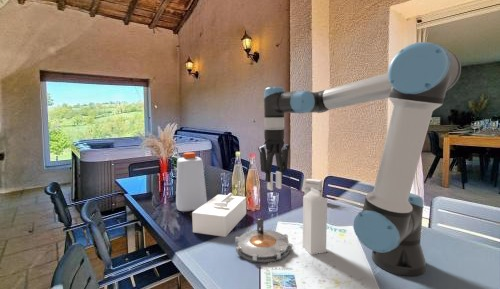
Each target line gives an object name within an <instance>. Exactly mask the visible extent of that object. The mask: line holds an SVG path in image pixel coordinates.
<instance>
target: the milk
mask: <svg viewBox="0 0 500 289" xmlns="http://www.w3.org/2000/svg"><path fill="white" fill-rule="evenodd" d="M327 222H328V199H327V198H324V196H322V197H321V196H320V191H318V190H316V189H314V188H313V187H311V191H310V192H309V193H307V194H306V195H305V194H304V195H303V197H302V247H304V248H305V249H306V250H307V251H308V252H307V251H306V250H305V249H304V248H303V249H304V250H305V251H306V252H307V253H308V254H309V255H310V256H313V255H318V253H319V254H323V253H322V252H325V253H326V252H327V227H328V226H327V224H328V223H327Z"/></svg>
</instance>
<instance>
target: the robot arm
mask: <svg viewBox="0 0 500 289" xmlns="http://www.w3.org/2000/svg"><path fill="white" fill-rule="evenodd" d="M388 66H389V67H388V71H387V72H386V73H382V74H379V75H375V76H372V77H371V76H370V77H369V78H365V79H361V80H356V81H354V82H349V83H346V84H342V85H338V86H335V87H331V88H327V89H325V90H321V91H316V92H315V91H314V92H312V91H309V90H296V91H295V90H294V91H293V90H292V91H285V88H284V87H283V86H270V87H269V86H268V87H266V88H265V89H264V93H263V95H264V96H263V103H264V108H263V109H264V110H263V111H264V123H263V124H264V130H263V131H264V133H263V134H264V143H263V145H262V146H258V148H257V149H258V150H257V151H259V161H260V171H261V173H265V182H266V190H269V191H271V192H272V191H274V187H273V186H274V180H273V179H274V178H273V177H274V174H273V173H272V168H273V161H274V156H275V162H276V168H277V170H276V171H275V188H276V189H279V190H282V180H283V179H284V176H283V174H284V173H285V171H286V170H288V163H289V162H288V160H289V150H290V147H291V145H290V144H286V143H285V142H284V139H285V129H284V128H285V114H288V113H289V114H307V113H308V114H309V113H310V114H311V113H317V114H320V113H325V112H328V111H330V110H337V109H340V108H345V107H350V106H351V107H352V106H355V105H360V104H366V103H370V102H375V101H381V100H385V99H386V100H387V99H389V100H390V102H391V103H392V105H393V107H392V108H393V109H392V111H391V112H392V113H391V116H390V121H389V124H388V129H387V133H386V137H385V142H384V145H383V150H382V153H381V158H380V162H379V166H378V169H377V174H376V178H375V183H374V187H373V190H372V191H369V192H368V193H367V194H365V198H364V199H365V200H364V202H363V207H362V210H361V211H359V212H358V213H357V215H355V217H354V220H353V230H354V233H355V235H356V236H357V238H358V240H359V242H360V243H361V244H362V245H364V246H365V247H366V248H367V249H369V250H371V260H372V262H373V263H374V264H375V265H376V266H377V267H379V268H380V269H382V270H384V271H386V272H389V273H392V274H396V275H399V276H405V277H417V276H420V275H422V274H424V273H425V272H426V267H427V263H426V262H427V261H426V258H425V254H424V252H423V248H422V246H421V245H422V244H421V240H422V239H421V237H422V226H423V225H422V224H423V211H424V200H423V198H422V197H421V196H420V195H418V194H415V193H411V191H412V187H413V184H414V179H415V177H416V176H415V175H416V173H417V169H418V165H419V163H420V158H421V155H422V151H423V148H424V144H425V141H426V137H427V133H428V131H429V130H428V129H429V126H430V123H431V119H432V115H433V112H434V111H435V110H436V109H438V108H440V107H441V106H443V104H444V101H445V97H446V93H447V91H448V90H450V89H451V88H452V87H453V86H455V85H456V83H457V82H458V80H459V78H460V77H461V71H462V65H461V61H460V60H459V58H458V56H456V54H454V53H453V52H451V51H449V50H447V49H446V48H445V47H444V46H442V45H441V44H438V43H435V42H434V43H433V42H427V41H419V42H415V43H412V44H411V43H410V44H409V45H406V46H405V47H403V48H402V49H401V50H400V51H398V52H397V53H396V54H395V56H393V58H392V60H391V61H390V64H389V65H388Z"/></svg>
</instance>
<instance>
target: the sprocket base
mask: <svg viewBox="0 0 500 289" xmlns="http://www.w3.org/2000/svg"><path fill="white" fill-rule="evenodd" d="M236 247H238V243H236V246H235V248H236ZM290 251H291V250H287V252H286V253H285V254H283V255H281V258H280V259H276V258H271V259H257V261H256V260H253V258H251V257H248V256H246V255H244V254H242V253H237V255H238V256H239V257H240V258H241V259H243V260H246V261H249V262H252V263H256V264H270V262H272V263H276V262H280V261H282V260H283V259H285V258H287V257H288V255H289V254H290ZM279 260H280V261H279ZM275 261H276V262H275Z"/></svg>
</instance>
